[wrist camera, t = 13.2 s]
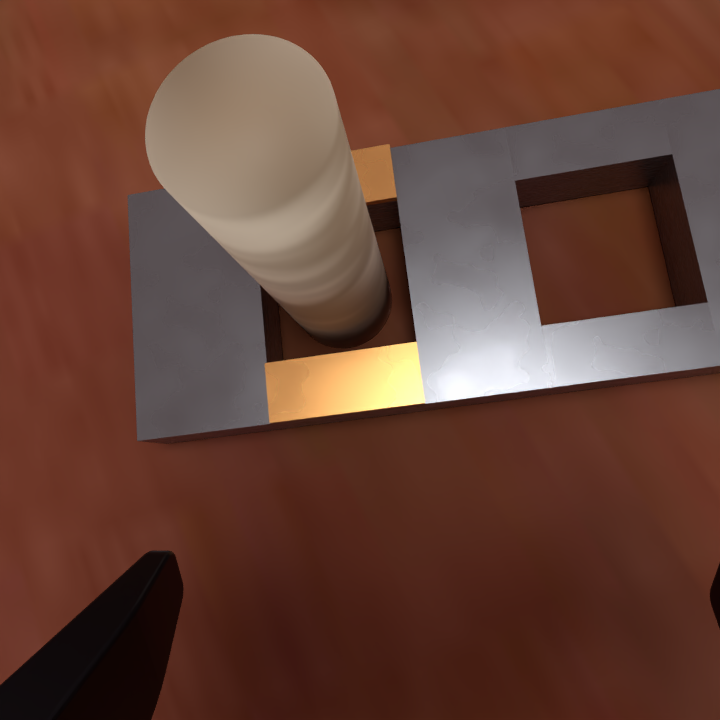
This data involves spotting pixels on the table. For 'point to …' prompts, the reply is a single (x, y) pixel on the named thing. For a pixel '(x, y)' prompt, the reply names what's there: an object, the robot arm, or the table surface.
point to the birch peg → (273, 180)
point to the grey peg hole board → (439, 282)
